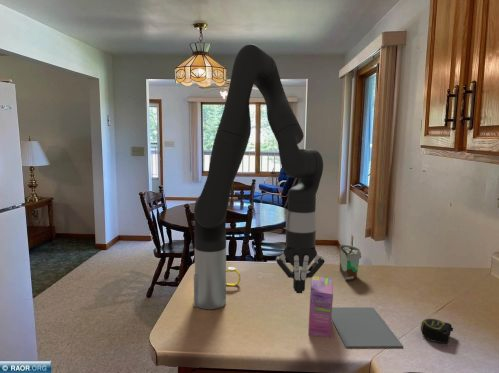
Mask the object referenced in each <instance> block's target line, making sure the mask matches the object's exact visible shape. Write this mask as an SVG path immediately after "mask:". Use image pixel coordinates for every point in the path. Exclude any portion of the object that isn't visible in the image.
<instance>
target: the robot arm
mask: <svg viewBox="0 0 499 373" xmlns="http://www.w3.org/2000/svg"><path fill="white" fill-rule="evenodd" d="M279 72H280V71H279V69H278V66H277V63H276V61H275V59H274V58H273V57H272V56H271V54H269V53H267V52H266V51H265V50H263V49H262V48H261V47H259V46H258V45H256V44H253V43H248V44H246V45H244V46H242V47H241V48H240V50H239V51H238V53H237V54H236V56H235V58H234V61H233V66H232V71H231V76H230V80H229V86H228V91H227V96H226V100H225V103H224V106H223V110H222V115H221V118H220V121H219V124H218V127H217V130H216V133H215V137H214V139H213V144H212V148H211V153H210V158H209V159H210V160H209V166H208V167H209V168H208V171H207V177H206V179H205V182H204V185H203V187H202V188H203V189H202V191H201V193H200V194H199V196H198V197H197V198H196V201H195V202H194V209H193V213H194V274H193V307H194V308H199V309H203V310H216V309H220V308H222V307H224V306H225V305H226V303H227V285H226V283H227V272H226V270H227V229H226V228H227V226H226V225H227V223H226V222H227V221H226V220H227V219H226V218H227V213H228V205H229V202H230V196H231V194H232V193H231V192H232V188H233V185H234V181H235V179H236V176H237V174H238V171H239V169H240V167H241V164H242V161H243V158H244V156H245V153H246V150H247V147H248V144H249V142H250V141H249V140H250V136H251V133H252V123H251V122H252V121H251V111H250V100H251V94H252V90H253V87H254V86H255V87H256V88H257V89H258V91H259V92H260V93H261V96H262V98H264V102H265V106H266V117H267V121H268V124H269V127H270V130H271V131H272V133H273V136H274V138H275V141H276V142H277V148H278V154H279V161H280V166H281V168H282V171H283V172H284V173H285V174H286V175H287V177H289V178H292V179H298V181H297V182H298V183H297V184H296V185H295V186H292V187H291V188H290V189H288V192H287V213H286V219H285V248H284V249H283V253H282V254H281V255H278V256H276V257H275V261H276V264H278V266H279V267H280V269H281V270H282V271H283V273H284V274H285V275H286V276H287V278H290V279H293V280H292V281H293V287H292V288H293V289H294V290H293V291H294V292H295V293H296V294H303V292H305V290H306V280H307V279H309V278H310V279H312V277H314V276H315V274H316V273H317V272H318V271H319V270H320V268H321V267H322V266H323V265H324V263H325V259H324V257H322V256H321V255H319V254H318V251H317V250H316V236H317V235H316V234H317V233H316V232H317V230H316V228H317V217H316V216H317V214H316V208H317V207H316V204H317V203H316V202H317V193H318V190H319V186H320V182H321V179H322V175H323V170H324V159H323V156H322V155H321V153H320V151H318V150H316V149H313V148H299V146H298V145H299V144H300V143H301V142H302V141H303V139H304V137H305V136H304V135H305V134H304V132H303V129H302V127H301V125H300V122H299V120H298V119H297V116H296V115H295V113H294V111H293V109H292V106H291V104H290V103H289V100H288V97H287V95H286V92H285V90H284V86H283V84H282V81H281V76H280V73H279ZM287 261H288V262H289V265H291V266H292V270H291V269H290V268H289V266H288V265H287V264H286V263H287ZM312 262H313V263H312ZM311 263H312V265H311ZM310 265H311V266H310ZM308 266H309V268H308Z"/></svg>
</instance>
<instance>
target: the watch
mask: <svg viewBox="0 0 499 373" xmlns="http://www.w3.org/2000/svg"><path fill="white" fill-rule="evenodd" d="M227 272H231V273H232V272H233V273H237V276H238V280H237V281H236V282H235V283H228V282H226V286H230V287H236V286H238V285H239V283H240V281H241V272H240V271H239V270H237V268H236V267H234V266H229V267H227V268H226V273H227Z"/></svg>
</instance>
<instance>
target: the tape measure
mask: <svg viewBox="0 0 499 373" xmlns="http://www.w3.org/2000/svg"><path fill="white" fill-rule="evenodd" d="M453 329H454V327H453V326H452V324H451V323H449V322H444V321H442V320H440V319H437V318H425V319H423V321H421V325H420V331H421V335H423V336H424V337H425V339H428V340H430V341H433V342H435V343H436V342H438V343H443V344H447V343H449V340H450V336H451V332H453V331H454V330H453Z"/></svg>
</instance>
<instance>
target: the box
mask: <svg viewBox="0 0 499 373" xmlns="http://www.w3.org/2000/svg"><path fill="white" fill-rule="evenodd" d="M310 279H311V282H310V294H309V295H310V296H309V313H308V328H307V329H308V330H307V331H308V332H307V333H308V336H313V337H314V336H315V337H320V338H328V339H329V338H331V332H332V330H331V329H332V320H331V318H332V307H333V304H334V303H333V299H334V287H333V286H334V284H333V283H334V282H333V278H331V277H322V276H313V277H312V278H310Z"/></svg>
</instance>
